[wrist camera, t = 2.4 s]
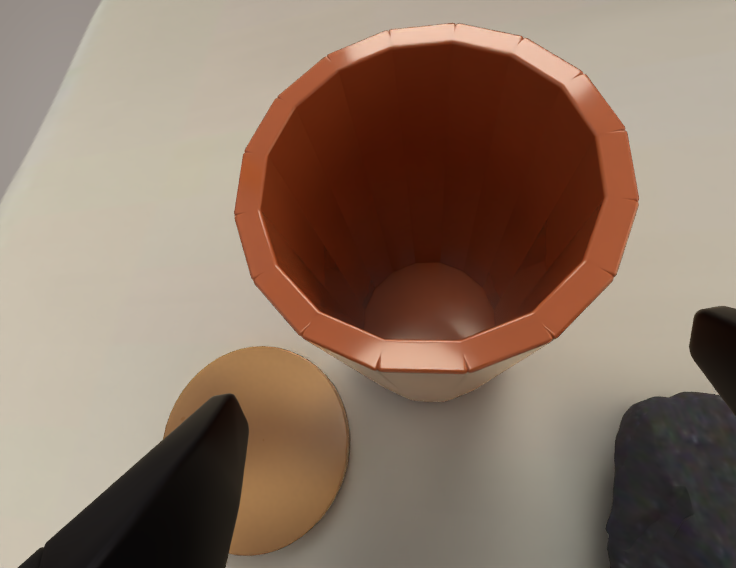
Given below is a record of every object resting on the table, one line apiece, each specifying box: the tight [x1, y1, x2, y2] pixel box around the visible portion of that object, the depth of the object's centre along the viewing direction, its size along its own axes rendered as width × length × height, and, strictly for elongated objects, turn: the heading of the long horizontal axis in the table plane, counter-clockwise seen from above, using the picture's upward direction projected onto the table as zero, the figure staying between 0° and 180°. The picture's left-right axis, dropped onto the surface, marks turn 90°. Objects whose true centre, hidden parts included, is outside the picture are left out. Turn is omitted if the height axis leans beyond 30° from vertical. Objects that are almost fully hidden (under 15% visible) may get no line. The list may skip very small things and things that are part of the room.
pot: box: [234, 23, 639, 402], centre depth 13 cm, size 7×7×12 cm
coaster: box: [163, 346, 350, 556], centre depth 18 cm, size 8×8×1 cm
